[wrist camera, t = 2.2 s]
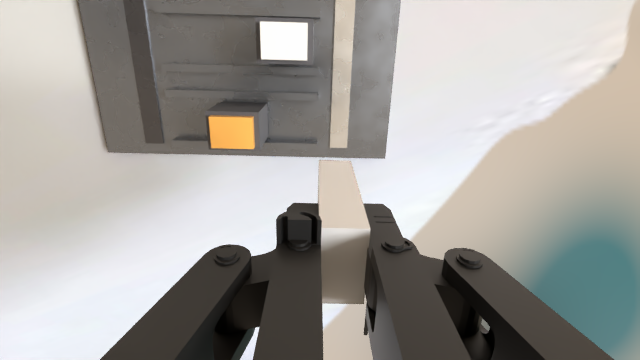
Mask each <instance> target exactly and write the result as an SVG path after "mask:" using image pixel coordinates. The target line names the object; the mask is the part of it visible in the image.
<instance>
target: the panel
mask: <svg viewBox="0 0 640 360" xmlns="http://www.w3.org/2000/svg"><path fill="white" fill-rule="evenodd" d="M78 3H79V8H80V13H81V18H82V23H83V28H84V33H85V38H86V43H87V48H88V53H89V58H90V63H91V68H92V73H93V78H94V83H95V88H96V93H97V98H98V103H99V108H100V113H101V118H102V122H103V127H104V132H105V137H106V142H107V147H108V152H120V153H164V154H208V155H252V156H296V157H341V158H385V153H386V143H387V133H388V123H389V113H390V103H391V93H392V83H393V73H394V63H395V53H396V43H397V33H398V23H399V13H400V3H401V0H78ZM255 17H271V18H303V19H314V50H313V65H300V64H264V63H257V53H256V26H255ZM222 101H227V102H265V103H267V106H268V137H267V139H266V141H265V143H264V145H263V146H262V148H261V150H260V151H244V150H209V148H208V137H207V126H206V115H205V111H206V110H208V109H210V108H211V107H213V106H215V105H217V104H218V103H220V102H222Z"/></svg>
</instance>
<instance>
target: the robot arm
mask: <svg viewBox="0 0 640 360" xmlns="http://www.w3.org/2000/svg"><path fill="white" fill-rule="evenodd" d="M276 229H277V246H276V249H274V250H273V251H271V252H268V253H266V254H262V255H257V256H252V257H251V254H250V251H249V250H248V249H247V248H245V247H243V246H239V245H222V246H219V247H216V248H214V249H211V250H210V251H209V252H207V253H206V254H205V255H204V256H203V257H202V258H201V259H200V260H199V261H198V262H197V263H196V264H195V265H194V266H193V267H192V268H191V269H190V270H189V271H188V272H187V273H186V274H185V275H184V276H183V277H182V278H181V279H180V280H179V281H178V282H177V283H176V284H175V285H174V286H173V287H172V288H171V289H170V290H169V291H168V292H167V293H166V294H165V295H164V296H163V297H162V298H161V299H160V300H159V301H158V302H157V303H156V304H155V305H154V306H153V307H152V308H151V309H150V310H149V311H148V312H147V313H146V314H145V315H144V316H143V317H142V318H141V319H140V320H139V321H138V322H137V323H136V324H135V325H134V326H133V327H132V328H131V329H130V330H129V331H128V332H127V333H126V334H125V335H124V336H123V337H122V338H121V339H120V340H119V341H118V342H117V343H116V344H115V345H114V346H113V347H112V348H111V349H110V350H109V351H108V352H107V353H106V354H105V355H104V356H103V357H102V358H101V359H100V360H240V358H241V356H242V354H243V353H244V351H245V349H246V347H247V345H248V343H249V341H250V340H251V338H252V336H253V333H254V330H255V327H259V326H260V328H259V332H258V337H257V342H256V347H255V352H254V357H253V360H323V326H322V303H334V304H364V296H365V295H366V299H367V305H366V317H365V327H364V335H367V334H368V332H369V338H370V344H371V350H372V355H373V360H614V359H613V358H611V357H610V356H609V355H608V354H606V353H605V352H604V351H603V350H602V349H600V348H599V347H598V346H597V345H595V344H594V343H593V342H592V341H590V340H589V339H588V338H587V337H586V336H584V335H583V334H582V333H581V332H579V331H578V330H577V329H576V328H574V327H573V326H572V325H571V324H570V323H568V322H567V321H566V320H564V319H563V318H562V317H561V316H560V315H558V314H557V313H556V312H555V311H553V310H552V309H551V308H550V307H548V306H547V305H546V304H545V303H544V302H542V301H541V300H540V299H539V298H538V297H536V296H535V295H534V294H533V293H531V292H530V291H529V290H528V289H526V288H525V287H524V286H523V285H521V284H520V283H519V282H518V281H517V280H515V279H514V278H513V277H512V276H510V275H509V274H508V273H506V271H504V270H503V269H502V268H501V267H499V266H498V265H497V264H496V263H494V262H493V261H492V260H491V259H489V258H488V257H487V256H485V255H483V254H481V253H479V252H477V251H474V250H471V249H467V248H454V249H451V250H448V251H447V252H446V253H445V256H444V260H440V259H435V258H430V257H427V256H423V255H420V254H419V252H418V250H417V248H416V246H415V245H414V244H413V243H412V242H411V241H409V240H408V239H406V238H403V237H402V235H401V232H400V230H399V228H398V226H397V224H396V221H395V219H394V218H393V215H392V212H391V210H390V209H389V208H387V207H386V206H385V205H383V204H363V201H362V198H361V194H360V191H359V188H358V184H357V181H356V177H355V174H354V170H353V167H352V164H351V161H336V160H319V176H318V204H316V203H293V204H292V205H291V206H290V207H288V208H287V212H284V213H282V214H281V215H279V216H278V218H277V219H276ZM482 318H483V319H484V320H485V321H486V322H487V323H488V325H489V326H490V330H489V331H487V330H486V329H485V328H484V327H483V326H482V325H481V321H482Z"/></svg>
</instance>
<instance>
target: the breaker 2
mask: <svg viewBox="0 0 640 360" xmlns="http://www.w3.org/2000/svg"><path fill="white" fill-rule="evenodd" d="M255 26H256V53H257V63H264V64H300V65H313V50H314V19H303V18H271V17H255Z"/></svg>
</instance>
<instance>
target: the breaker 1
mask: <svg viewBox="0 0 640 360" xmlns="http://www.w3.org/2000/svg"><path fill="white" fill-rule="evenodd" d="M205 115H206V126H207V137H208V148H209V150H244V151H260V150H261V148H262V146H263V145H264V143H265V141H266V139H267V137H268V106H267V103H265V102H227V101H222V102H220V103H218V104H217V105H215V106H213V107H211V108H210V109H208V110H206V111H205Z"/></svg>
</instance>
